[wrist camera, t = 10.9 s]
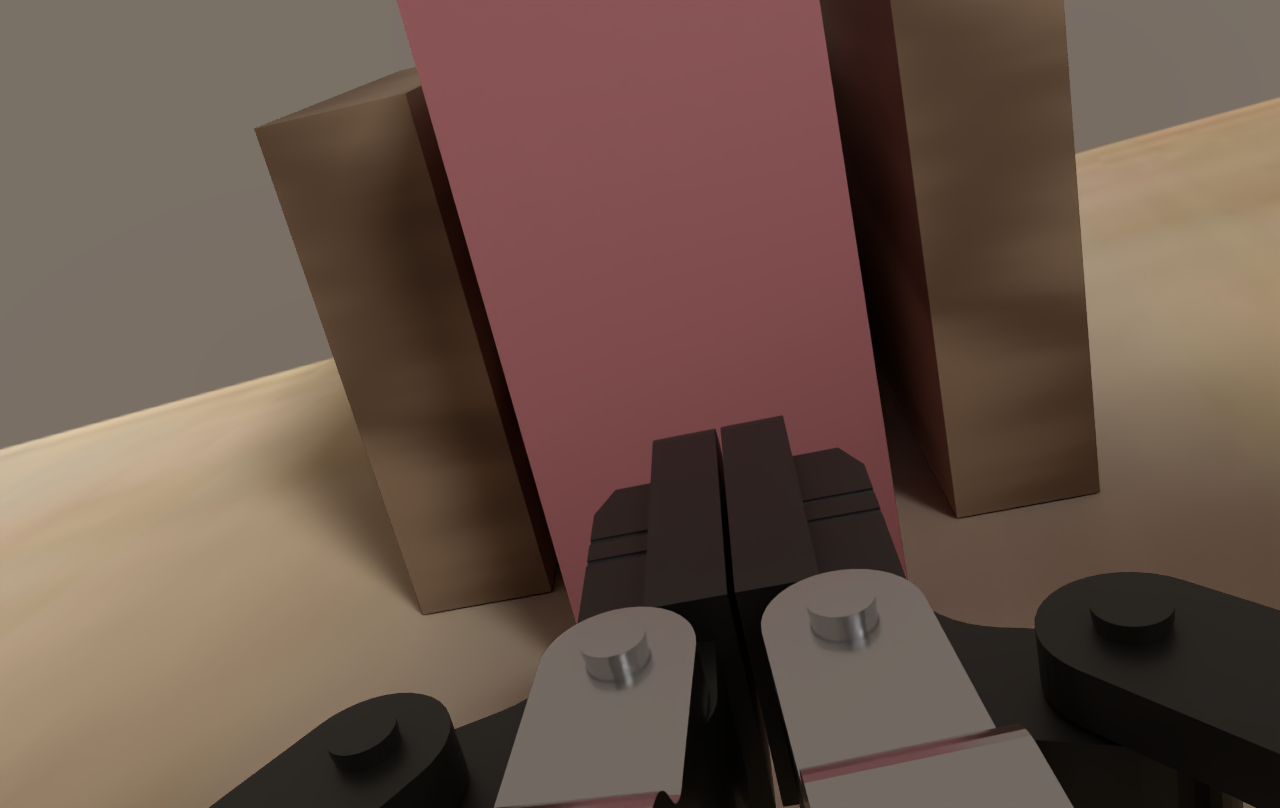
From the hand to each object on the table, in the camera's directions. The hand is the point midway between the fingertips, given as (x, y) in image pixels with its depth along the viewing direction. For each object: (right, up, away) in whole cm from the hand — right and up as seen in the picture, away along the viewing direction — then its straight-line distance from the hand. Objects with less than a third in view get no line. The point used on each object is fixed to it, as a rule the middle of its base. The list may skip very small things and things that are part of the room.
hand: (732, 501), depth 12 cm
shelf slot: (+1, 0, +17) cm, 17 cm away
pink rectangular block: (+1, -1, +15) cm, 15 cm away
